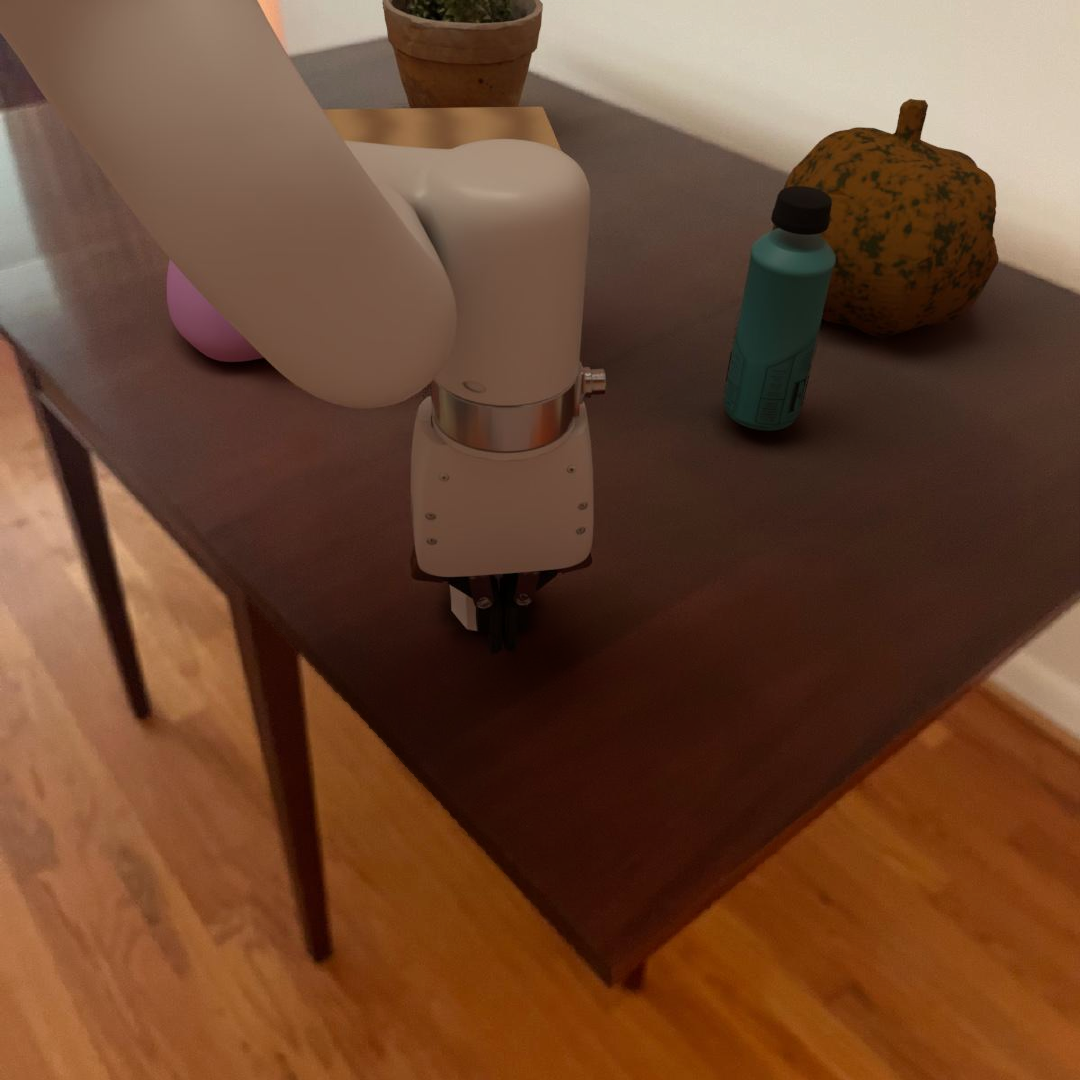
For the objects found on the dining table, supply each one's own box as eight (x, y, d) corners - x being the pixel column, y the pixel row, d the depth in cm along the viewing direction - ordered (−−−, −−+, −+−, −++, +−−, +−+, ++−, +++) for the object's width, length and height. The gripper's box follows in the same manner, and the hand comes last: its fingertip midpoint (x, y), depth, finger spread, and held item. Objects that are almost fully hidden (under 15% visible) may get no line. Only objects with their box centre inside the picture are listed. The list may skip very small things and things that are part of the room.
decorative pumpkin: (791, 360, 94) (848, 129, 82) (740, 266, 110) (781, 63, 98) (1005, 368, 96) (1092, 144, 84) (923, 275, 112) (985, 77, 100)
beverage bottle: (788, 455, 85) (848, 221, 71) (708, 435, 86) (752, 203, 73) (802, 412, 89) (860, 185, 76) (726, 394, 91) (769, 168, 77)
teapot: (155, 300, 98) (128, 178, 90) (294, 274, 103) (279, 156, 95) (208, 414, 85) (181, 284, 77) (363, 379, 90) (353, 252, 82)
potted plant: (370, 118, 134) (355, -108, 117) (503, 101, 140) (507, -115, 123) (419, 174, 122) (411, -68, 105) (563, 153, 128) (576, -78, 111)
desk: (343, 397, 88) (321, 171, 75) (341, 323, 97) (320, 109, 84) (554, 386, 91) (568, 165, 78) (533, 315, 99) (542, 106, 86)
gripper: (631, 348, 58) (605, 585, 70) (356, 362, 56) (379, 603, 68) (662, 429, 52) (628, 670, 65) (358, 447, 50) (383, 692, 63)
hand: (500, 635), depth 66 cm, fingers closed
